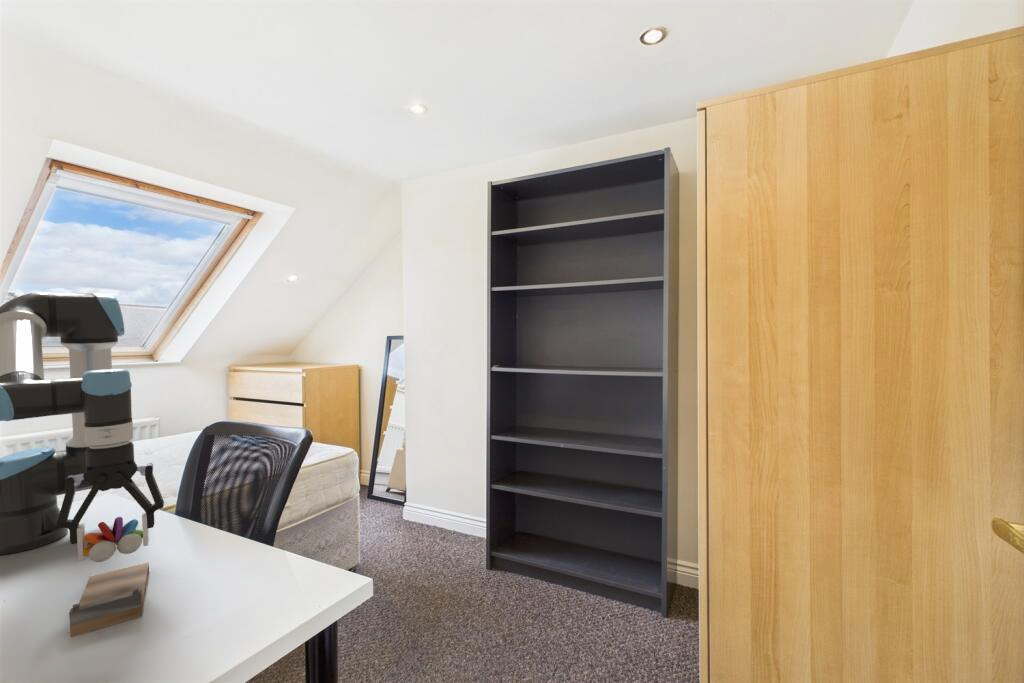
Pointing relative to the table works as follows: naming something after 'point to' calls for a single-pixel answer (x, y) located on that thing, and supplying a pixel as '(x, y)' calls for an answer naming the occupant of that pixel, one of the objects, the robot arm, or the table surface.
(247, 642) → the table surface
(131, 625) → the table surface
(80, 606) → the wooden display stand
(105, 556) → the rainbow wooden ball puzzle
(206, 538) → the table surface
